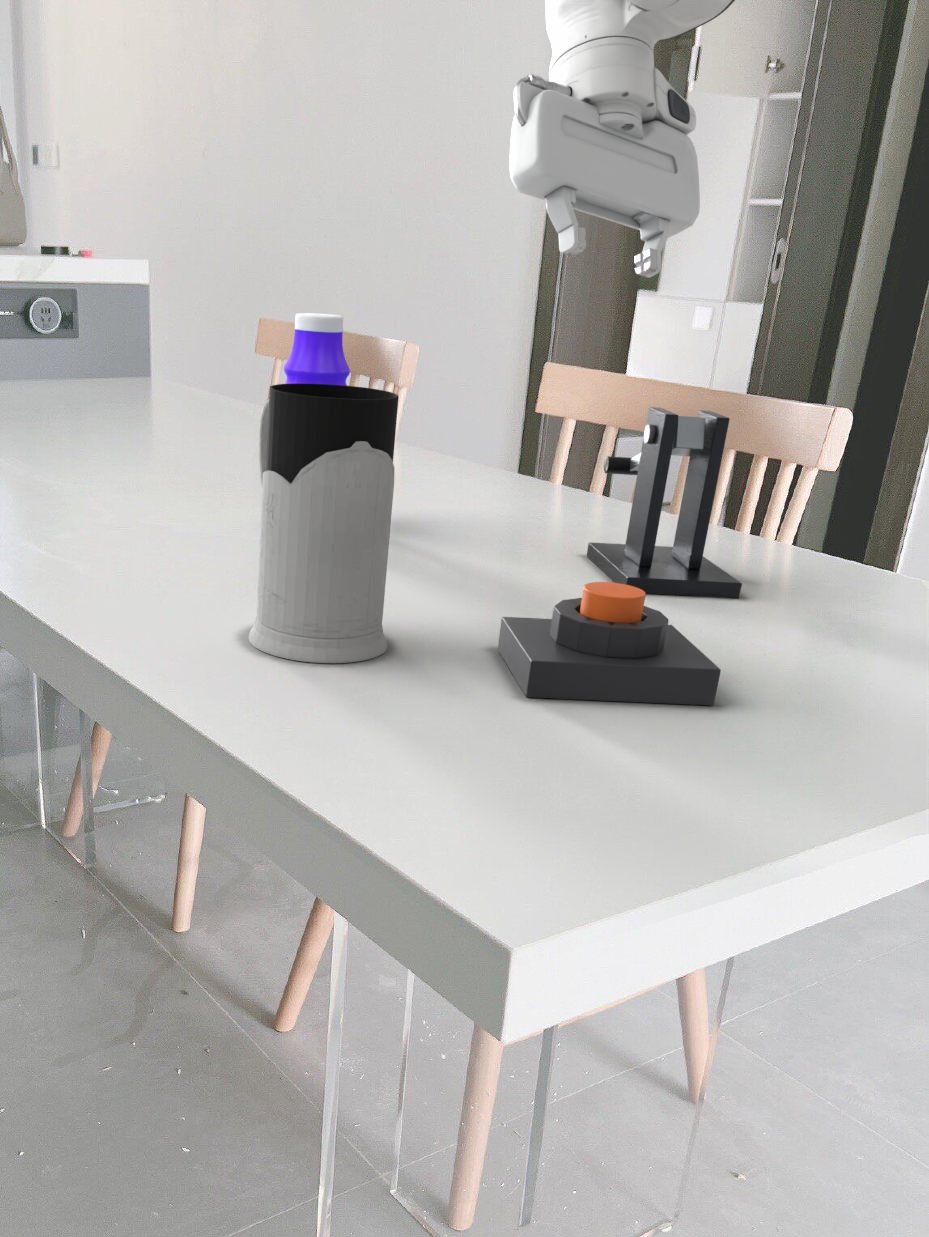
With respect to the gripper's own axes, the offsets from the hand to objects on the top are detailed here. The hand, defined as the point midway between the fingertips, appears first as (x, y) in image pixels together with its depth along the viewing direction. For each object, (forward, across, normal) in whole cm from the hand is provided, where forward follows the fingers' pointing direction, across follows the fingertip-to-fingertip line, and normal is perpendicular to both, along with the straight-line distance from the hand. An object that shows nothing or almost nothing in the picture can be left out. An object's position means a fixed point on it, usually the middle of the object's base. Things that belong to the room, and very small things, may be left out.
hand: (611, 263), depth 105 cm
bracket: (+28, -3, -6) cm, 29 cm away
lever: (+19, -2, -5) cm, 20 cm away
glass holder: (+34, -38, -6) cm, 52 cm away
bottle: (+20, -20, +19) cm, 34 cm away
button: (+35, -27, -22) cm, 49 cm away
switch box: (+38, -26, -20) cm, 51 cm away
